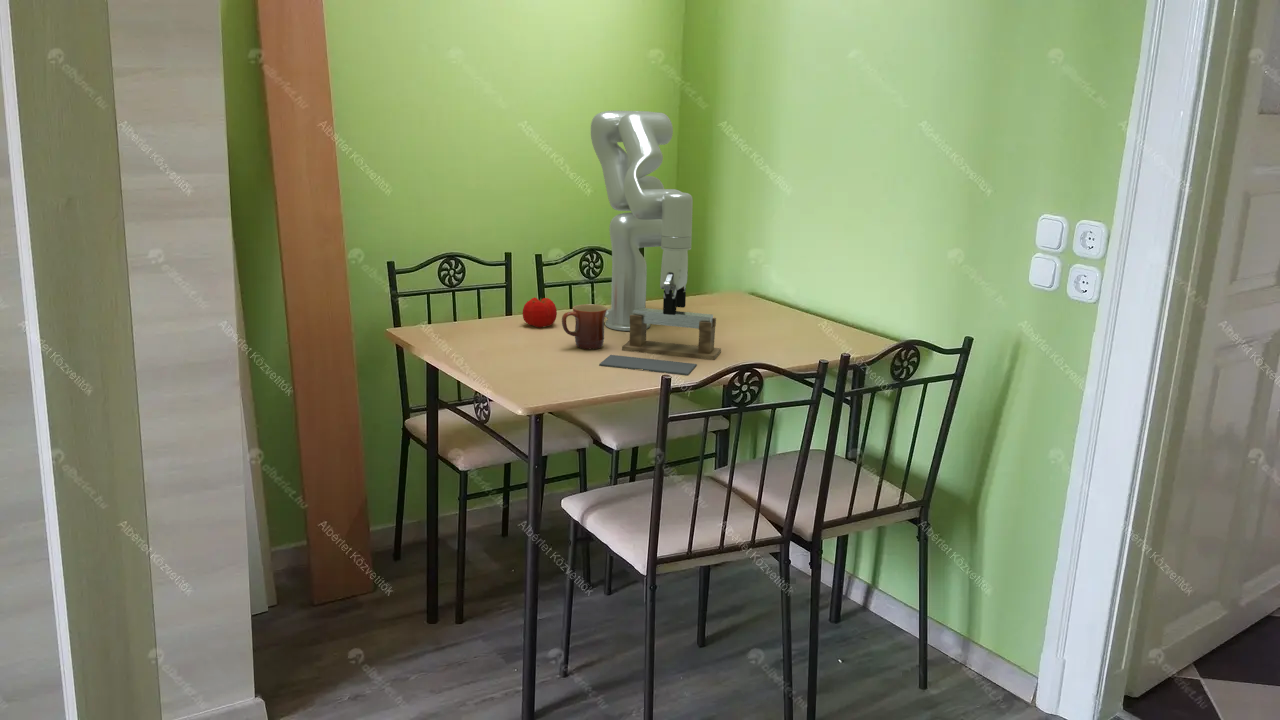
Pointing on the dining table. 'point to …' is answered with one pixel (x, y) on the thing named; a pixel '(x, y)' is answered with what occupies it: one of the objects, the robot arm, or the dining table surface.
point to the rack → (701, 351)
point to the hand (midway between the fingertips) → (674, 310)
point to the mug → (587, 325)
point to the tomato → (539, 312)
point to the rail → (672, 318)
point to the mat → (648, 364)
